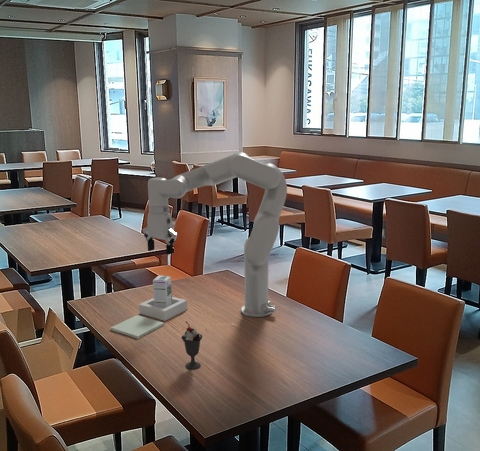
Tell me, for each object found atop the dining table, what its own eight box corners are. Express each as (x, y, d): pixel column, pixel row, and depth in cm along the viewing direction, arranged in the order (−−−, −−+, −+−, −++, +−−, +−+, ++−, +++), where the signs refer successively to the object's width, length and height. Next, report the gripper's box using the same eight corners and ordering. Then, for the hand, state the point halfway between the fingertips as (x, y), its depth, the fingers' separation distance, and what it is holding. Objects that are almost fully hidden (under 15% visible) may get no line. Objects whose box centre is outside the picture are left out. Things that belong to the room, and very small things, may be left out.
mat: (164, 325, 198) (163, 322, 198) (138, 338, 187) (137, 336, 187) (137, 317, 206) (137, 314, 206) (110, 330, 194) (110, 327, 194)
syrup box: (168, 314, 208) (166, 280, 205) (154, 313, 209) (152, 279, 206) (172, 309, 213) (171, 275, 210) (159, 308, 215) (157, 275, 211)
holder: (187, 309, 213) (186, 300, 212) (165, 320, 202) (164, 311, 201) (162, 302, 220) (161, 293, 219) (139, 313, 209) (139, 304, 208)
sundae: (182, 361, 170) (181, 318, 167) (203, 360, 171) (201, 317, 167) (182, 371, 164) (180, 327, 160) (203, 370, 164) (202, 326, 161)
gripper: (182, 210, 200) (183, 253, 204) (148, 205, 209) (150, 246, 213) (169, 213, 194) (170, 257, 198) (135, 208, 203) (137, 251, 207)
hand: (160, 252), depth 205 cm, fingers open, 9 cm apart
